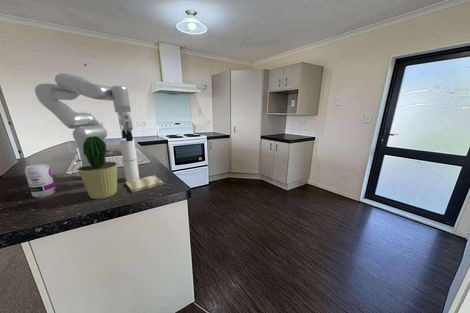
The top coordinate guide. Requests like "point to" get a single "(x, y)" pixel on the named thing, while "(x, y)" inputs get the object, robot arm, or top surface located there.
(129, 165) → the cylindrical container
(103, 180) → the potted cactus
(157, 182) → the birch board
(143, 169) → the top surface
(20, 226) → the top surface
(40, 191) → the supplement can
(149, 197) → the top surface
